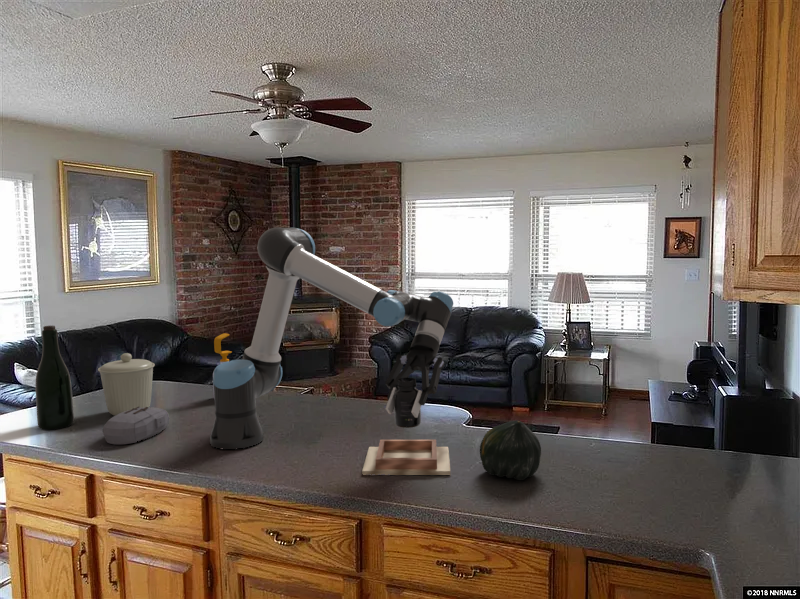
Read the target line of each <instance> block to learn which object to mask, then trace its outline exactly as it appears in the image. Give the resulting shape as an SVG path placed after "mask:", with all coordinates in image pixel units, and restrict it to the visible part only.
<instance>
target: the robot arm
mask: <svg viewBox="0 0 800 599" xmlns="http://www.w3.org/2000/svg"><path fill="white" fill-rule="evenodd" d="M257 241H258V242H257V253H258V256H259V258H260V260H261V261H262V263H264V264H265V268H266V269H267V271H268V277H267V282H266V286H265V289H264V293H263V298H262V302H261V305H260V309H259V313H258V317H257V321H256V325H255V328H254V332H253V337H252V340H251V344H250V345H249V347H247V348H245V349H244V352H243V356H242V359H232V360H229V362H228V361H227V362H224V363H221V364H220V363H219V364H218V365H217V366H216V367H215V368H214V370H213V372H214V378H213V377H212V385H213V384H214V390H213V399H214V398H215V399H214V413H215V414H214V415H215V416H214V422H213V426H212V428H211V431H210V432H211V433H210V437H209V439H210V440H209V442H210V444H211V445H210V446H211V447H212V446H213V447H212V448H214V447H216V448H215V449H217V448H223V449H235V450H237V449H236V448H243V449H246V448H245V447H248V448H250V447H249V446H252V447H254V446H253V445H255V446H257V445H259V444H261V443H262V442H263V441H264V431H263V428H262V426H261V424H260V420H259V418H258V415H257V402H256V399H258V398H260V397H262V396H264V395H267V394H269V393H271V392H272V391H273V390H274V389H275V388H277V387H278V385H280V383H281V380H282V377H283V366H281V363H282V362H281V361H282V356H281V355H280V353H279V350H280V346H281V342H282V339H283V335H284V333H285V332H284V331H285V327H286V323H287V320H288V316H289V313H290V310H291V305H292V301H293V298H294V293H295V289H296V286H297V282H298V280H303V281H304V282H307V283H309V284H310V285H312V286H314V287H316V288H319V290H322V291H323V292H326V293H328V294H329V295H332V296H333V297H336V298H337V299H340V300H341V301H343V302H345V303H347V304H349V305H351V306H353V307H355V308H356V309H357V310H358V309H359V310H361V311H362V312H364V313H366V314H368V315H370V316H371V317H374V320H375V321H376V322H377V323H378V324H379V325H381V326H384V327H394V326H396V325H399V323H401V322H404V321H405V320H407V321H412V322H416V323H418V326H417V329H416V331H415V334H414V336H413V339H412V342H411V345H410V346H409V347H410V348H409V352H408V353H406V355H405V354H404V355H401V354H400V353H397V355H396V359H395V360H396V361H395V362H394V364H393V367H392V368H391V370H390V373H389V375H388V377H387V378H386V381H385V385H386V387H387V388H388V390H389V391H388V393H387V398H386V399H387V400H388V401H387V403H386V406H385V411H386V412H387V413H388V414H389V415H392V414H393V413H394V410H395V405H394V393H395V391H396V390H397V389H399V388H398V379H401V378H410V375H411V374H413V373H414V372H415V371H421V390H420V389H418V390H419V391H418V394H417V397H416V400H415V402H414V405H413V408H412V411H411V413H412V414H413V416H414V417H415V418H417V417H418V414H419V411H420V408H422V406H425V405H426V402H427V399H428V397H429V395H431V394H433V395H435V394H437V391H438V386H439V382H440V377H441V372H442V369H443V368H444V366H445V362H444V359H443V358H442V357H438V358H437V355H438V352H439V350H440V345H441V342H442V341H443V337H444V334H445V331H446V328H447V326H448V322H449V320H450V318H451V315H452V312H453V307H454V300H453V298H452V297H451V295H449V294H448V293H446V292H444V291H439V290H437V291H433V292H430V294H429V295H428V297H426V296H419V295H417V294H412V293H408V292H403V291H402V290H393V289H388V290H387V291H384V290H383V289H381V288H379V287H378V286H376V285H373V284H372V283H369V282H367V281H365V280H363V279H362V278H360V277H358V276H356V275H354V274H351V273H350V272H348V271H346V270H344V269H342V268H340V267H339V266H336V265H335V264H333V263H330V262H328V261H327V260H325V259H322V258H321V257H319V256H317V255H316V244H315V240H314V239H313V237H312V236H311V235H310V233H308V232H307V231H305V230H303V229H301V228H297V227H279V226H278V227H271V228H269V229H267V230H266V231H264V232H263V233H262V234H261V236H260V237H259V239H258V240H257ZM406 361H407V362H406ZM432 365H433V369H432V372H431V377H430V378H429V376H430V367H431V366H432ZM262 440H263V441H262ZM261 441H262V442H261ZM260 442H261V443H260ZM258 443H259V444H258ZM256 444H257V445H256ZM223 449H222V450H223Z"/></svg>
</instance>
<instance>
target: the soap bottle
mask: <svg viewBox="0 0 800 599" xmlns="http://www.w3.org/2000/svg"><path fill="white" fill-rule="evenodd" d="M229 336H230V334H229V333H224V332H223V333H222V334H219V335H217V336H216V337H215V338H214V341H213V346H214V352H215V353H216V354H220V356H221V359H219V360H220V361H219V365H220V364H221V363H224V362H227V361H228V362H230V359H229V358H228V357H227V356H229V354H231V353H232V352H233V351H230V350H222V345H221V344H222V343H221V342H222V340H224V339H225V338H227V337H229ZM213 378H214V371H213V373H212V379H213ZM212 385H213V386H212V387H213V391H214V384H213V383H212ZM213 399H214V400H215V398H214V397H213Z"/></svg>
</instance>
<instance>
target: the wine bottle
mask: <svg viewBox="0 0 800 599" xmlns="http://www.w3.org/2000/svg"><path fill="white" fill-rule="evenodd" d="M41 336H42V355H41V360H40V363H39V364H38V367H37V371H36V374H35V404H36V418H37V419H36V421H37V427H38V429H40V430H43V431H44V430H45V431H46V430H47V431H49V430H52V431H53V430H59V429H64V428H67V427H70V426H71V425H73V424H74V423H75V411H74V399H73V390H72V381H71V375H70V372H69V369H68V367H67V365H66V363H65V361H64V359H63V357H62V355H61V353H60V346H59V341H58V339H59V338H58V330H57V328H56V326H55V325H44V326H43V329H42V330H41Z"/></svg>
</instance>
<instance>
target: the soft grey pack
mask: <svg viewBox="0 0 800 599" xmlns="http://www.w3.org/2000/svg"><path fill="white" fill-rule="evenodd" d="M169 423H170V416H169V412H168V411H167V409H164V408H161V407H156V406H155V407H145V408H139V407H137V408H133V409H131V410H128V411H125V412H122V413H120V414H118V415H116V416H114V415H113V416H112V417H110V419H108V420H107V421H106V423H105V424H104V425H103V428H102V434H103V437H104V439H105V441H106V442H107V444H110V445H115V446H116V445H128V444H133V443H137V441H138V442H142V441H141V440H143V441H146V440H148V439H150V438H153V437H154V435H155V436H157V435H158V434H160V433H162V432H163V431H164V430H165V429H166V428H167V427H168V426H169ZM162 430H163V431H162ZM161 431H162V432H161ZM156 434H157V435H156ZM152 436H153V437H152ZM149 437H150V438H149ZM147 438H148V439H147ZM145 439H146V440H145Z"/></svg>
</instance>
